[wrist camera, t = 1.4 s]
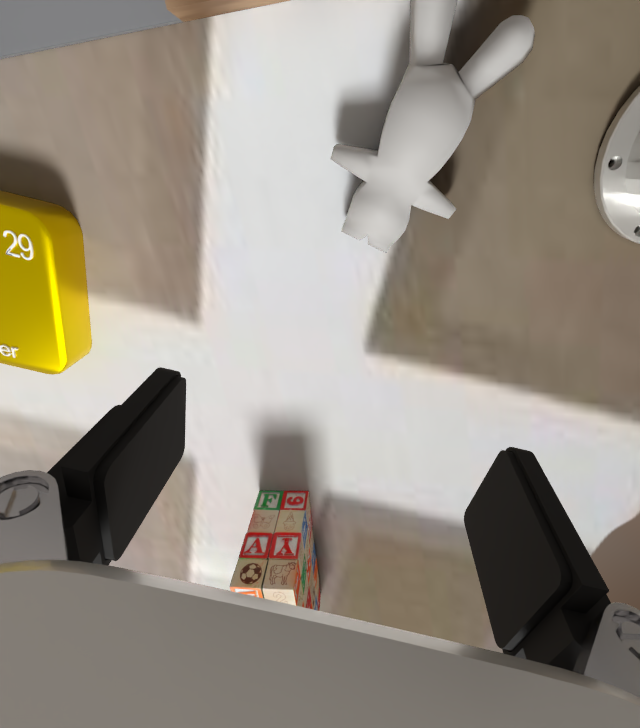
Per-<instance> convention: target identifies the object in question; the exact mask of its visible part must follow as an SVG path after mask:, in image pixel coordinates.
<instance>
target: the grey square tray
mask: <svg viewBox="0 0 640 728" xmlns="http://www.w3.org/2000/svg"><path fill="white" fill-rule="evenodd" d="M181 22H183V21H181V20H180V19H179V18H177V17H176V16H175V15H174V14H172V13H171V12H170V11H168V10H167V8H166V4H165V0H0V59H4V58H9V57H14V56H18V55H23V54H28V53H33V52H38V51H43V50H48V49H53V48H58V47H63V46H68V45H73V44H78V43H82V42H87V41H92V40H97V39H102V38H107V37H112V36H117V35H122V34H127V33H132V32H137V31H142V30H146V29H151V28H156V27H161V26H166V25H171V24H176V23H181Z"/></svg>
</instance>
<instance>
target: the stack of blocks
mask: <svg viewBox="0 0 640 728" xmlns="http://www.w3.org/2000/svg"><path fill="white" fill-rule="evenodd" d="M230 590H231V591H232V592H237V593H241V594H246V595H250V596H255V597H259V598H264V599H268V600H273V601H277V602H282V603H286V604H291V605H295V606H299V607H304V608H308V609H313V610H317V611H319V608H320V589H319V576H318V567H317V559H316V556H315V546H314V539H313V531H312V517H311V506H310V497H309V491H259V494H258V497H257V500H256V503H255V506H254V512H253V515H252V518H251V521H250V524H249V528H248V532H247V533H246V535H245V538H244V542H243V545H242V548H241V551H240V555H239V559H238V562H237V565H236V568H235V571H234V574H233V577H232V580H231V583H230Z"/></svg>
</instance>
